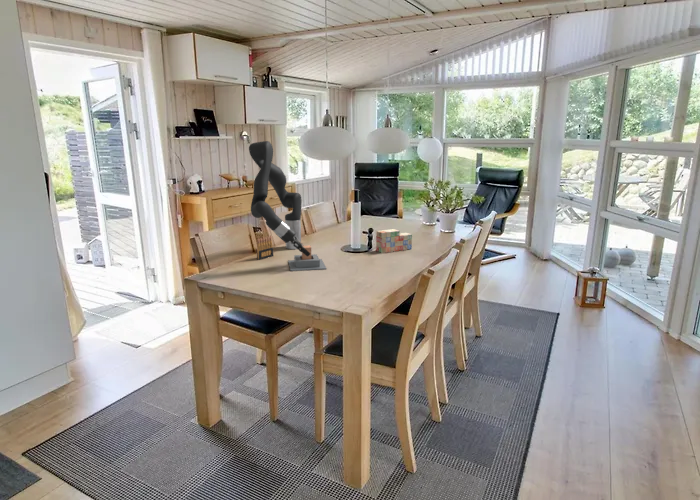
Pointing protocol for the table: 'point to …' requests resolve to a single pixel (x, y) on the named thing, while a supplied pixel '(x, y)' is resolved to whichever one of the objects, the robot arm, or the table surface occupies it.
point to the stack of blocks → (392, 241)
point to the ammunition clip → (264, 248)
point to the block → (308, 251)
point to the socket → (306, 263)
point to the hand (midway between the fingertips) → (308, 253)
